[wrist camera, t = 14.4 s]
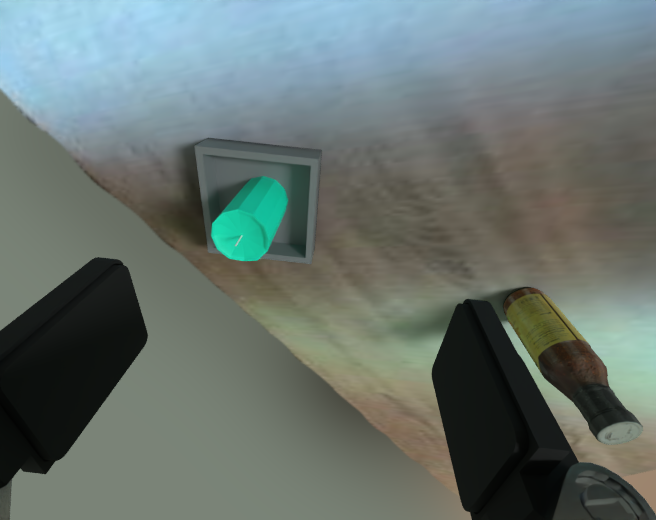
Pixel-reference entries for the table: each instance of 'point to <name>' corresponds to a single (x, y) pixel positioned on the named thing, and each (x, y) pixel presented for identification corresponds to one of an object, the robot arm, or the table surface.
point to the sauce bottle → (570, 364)
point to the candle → (250, 220)
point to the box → (273, 162)
